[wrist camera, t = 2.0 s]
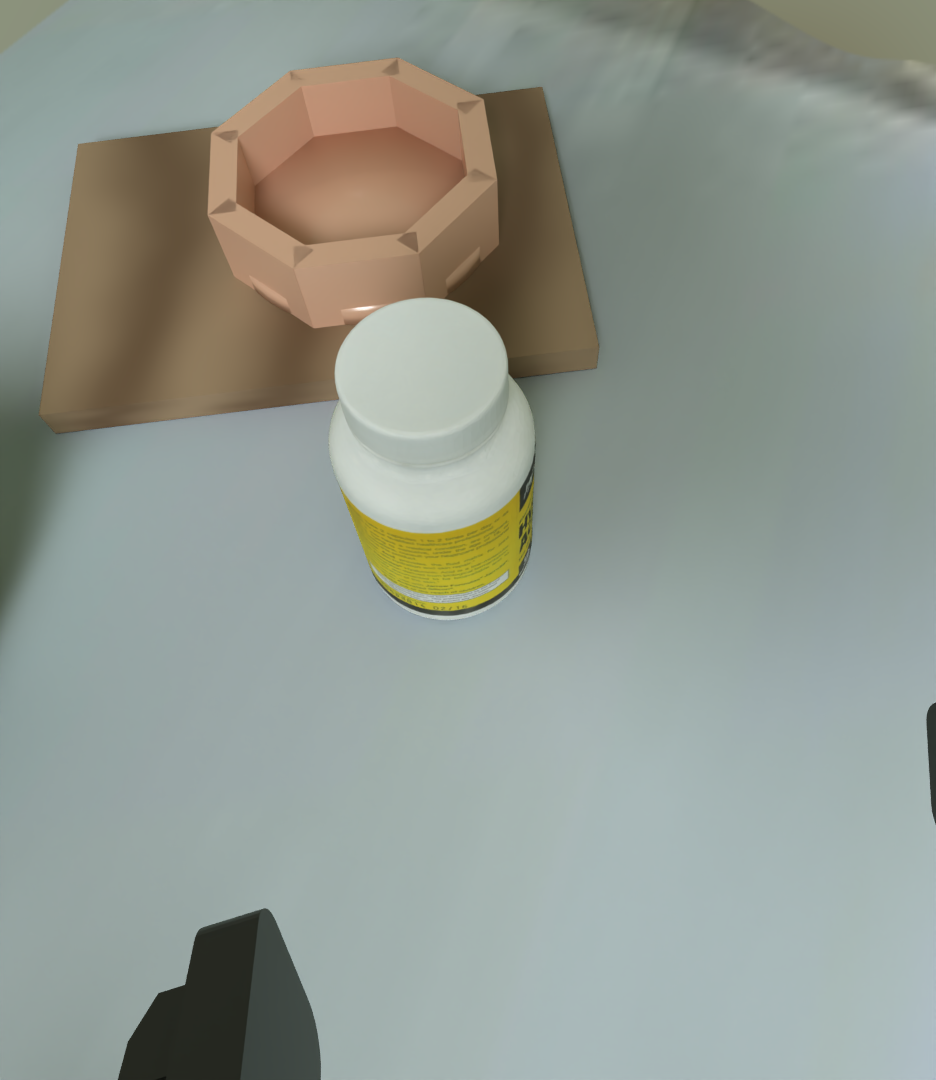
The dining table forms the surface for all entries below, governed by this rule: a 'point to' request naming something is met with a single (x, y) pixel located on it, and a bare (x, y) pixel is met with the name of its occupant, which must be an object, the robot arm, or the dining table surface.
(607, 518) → the dining table surface
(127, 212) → the walnut board
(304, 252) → the octagonal planter bowl
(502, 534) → the supplement bottle
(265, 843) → the dining table surface
